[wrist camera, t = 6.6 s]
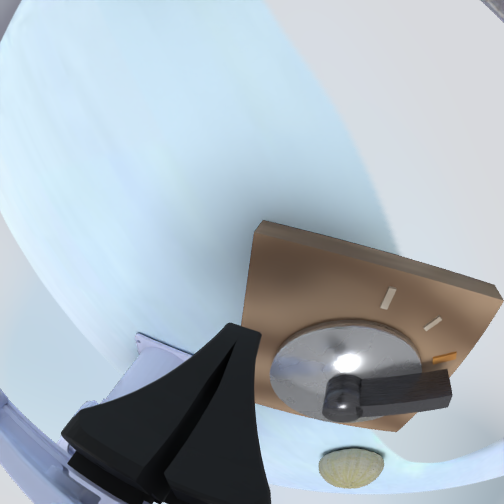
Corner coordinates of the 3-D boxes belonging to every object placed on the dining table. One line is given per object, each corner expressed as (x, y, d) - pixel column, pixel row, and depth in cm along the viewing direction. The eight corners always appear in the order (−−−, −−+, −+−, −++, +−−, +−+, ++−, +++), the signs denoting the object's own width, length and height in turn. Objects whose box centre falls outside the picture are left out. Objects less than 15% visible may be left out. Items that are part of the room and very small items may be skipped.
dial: (288, 414, 25) (280, 443, 22) (255, 324, 20) (239, 359, 17) (432, 406, 20) (434, 437, 17) (454, 305, 15) (468, 342, 12)
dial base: (396, 417, 25) (396, 433, 23) (237, 380, 28) (230, 396, 26) (494, 284, 15) (504, 302, 14) (262, 220, 19) (253, 233, 17)
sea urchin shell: (358, 449, 26) (375, 498, 22) (381, 427, 32) (396, 470, 28) (301, 461, 31) (318, 505, 27) (330, 442, 37) (345, 482, 33)
